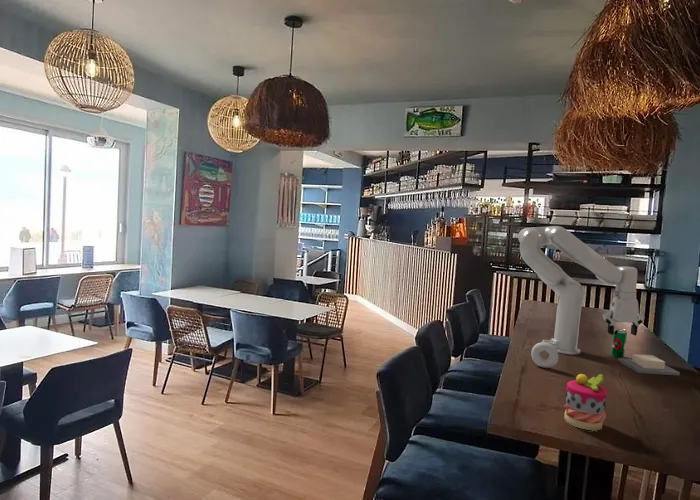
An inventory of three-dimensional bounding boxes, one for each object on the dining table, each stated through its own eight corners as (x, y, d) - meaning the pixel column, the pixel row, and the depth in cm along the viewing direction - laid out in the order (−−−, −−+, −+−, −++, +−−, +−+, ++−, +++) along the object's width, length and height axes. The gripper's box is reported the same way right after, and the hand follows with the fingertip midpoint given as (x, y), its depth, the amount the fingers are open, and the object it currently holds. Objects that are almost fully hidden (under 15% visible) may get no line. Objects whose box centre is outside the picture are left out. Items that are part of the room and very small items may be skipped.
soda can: (625, 359, 194) (629, 331, 193) (613, 357, 195) (616, 330, 194) (621, 355, 199) (624, 328, 198) (608, 354, 200) (611, 327, 199)
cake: (569, 429, 126) (575, 377, 125) (558, 412, 137) (563, 364, 135) (609, 434, 125) (615, 381, 123) (595, 417, 135) (600, 368, 134)
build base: (637, 372, 177) (639, 362, 177) (617, 360, 191) (619, 351, 191) (679, 375, 177) (680, 365, 177) (656, 363, 191) (657, 353, 191)
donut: (558, 369, 176) (560, 344, 175) (556, 371, 173) (558, 346, 172) (531, 363, 182) (533, 338, 181) (529, 365, 179) (531, 340, 178)
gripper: (609, 296, 191) (606, 336, 193) (651, 297, 191) (647, 337, 192) (600, 293, 199) (597, 331, 200) (640, 294, 198) (637, 332, 200)
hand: (622, 334), depth 196 cm, fingers open, 9 cm apart
